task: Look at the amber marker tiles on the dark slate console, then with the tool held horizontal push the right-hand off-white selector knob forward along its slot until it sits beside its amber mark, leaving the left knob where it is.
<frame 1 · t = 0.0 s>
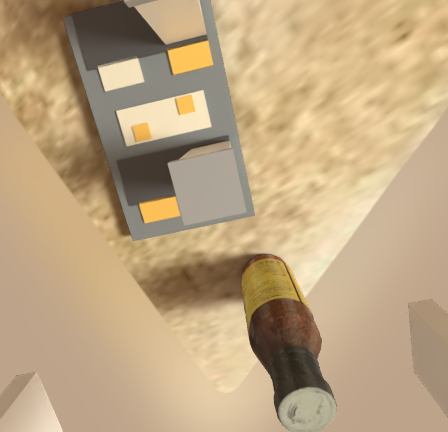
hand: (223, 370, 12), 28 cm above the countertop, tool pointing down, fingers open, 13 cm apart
slider a: (212, 173, 29), point 9 cm above the countertop, slide at 0.0 cm
sauce bottle: (267, 275, 42), on the countertop
console: (169, 123, 37), on the countertop
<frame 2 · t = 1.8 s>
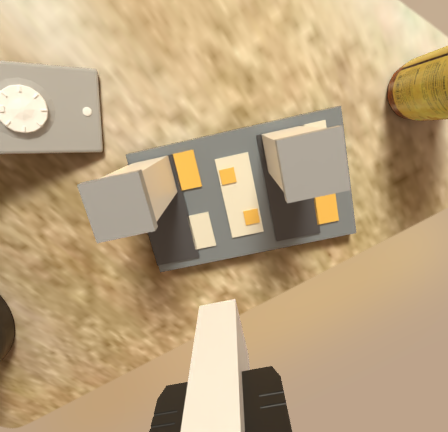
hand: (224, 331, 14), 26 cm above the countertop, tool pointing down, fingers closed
slider a: (295, 155, 29), point 9 cm above the countertop, slide at 0.0 cm
gray dial box: (43, 110, 37), on the countertop
sauce bottle: (413, 88, 36), on the countertop
console: (243, 191, 39), on the countertop
slider b: (139, 189, 30), point 9 cm above the countertop, slide at 0.0 cm
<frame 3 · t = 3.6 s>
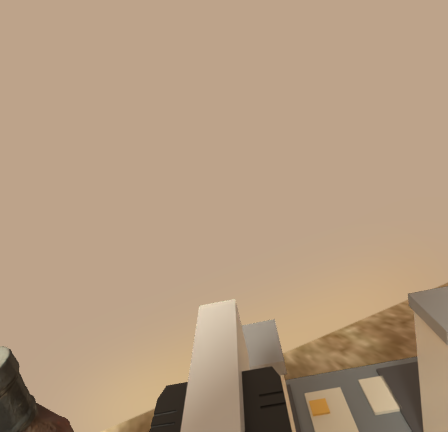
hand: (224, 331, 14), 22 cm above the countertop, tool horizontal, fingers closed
slider a: (264, 419, 25), point 9 cm above the countertop, slide at 0.0 cm
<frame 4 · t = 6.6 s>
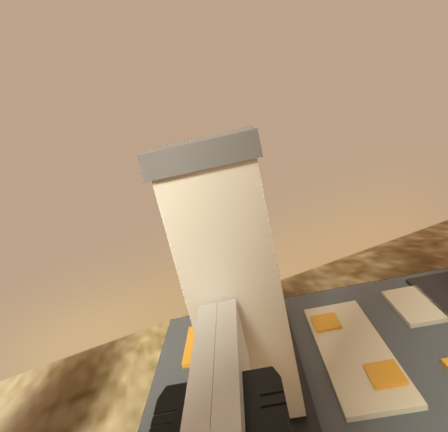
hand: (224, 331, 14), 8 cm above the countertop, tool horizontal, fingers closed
slider a: (233, 277, 16), point 9 cm above the countertop, slide at 1.7 cm, touching gripper
console: (347, 380, 20), on the countertop
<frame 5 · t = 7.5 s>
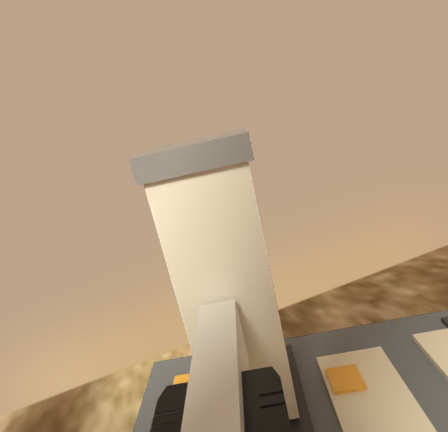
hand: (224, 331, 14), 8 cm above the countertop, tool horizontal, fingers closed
slider a: (227, 280, 16), point 9 cm above the countertop, slide at 6.6 cm, touching gripper
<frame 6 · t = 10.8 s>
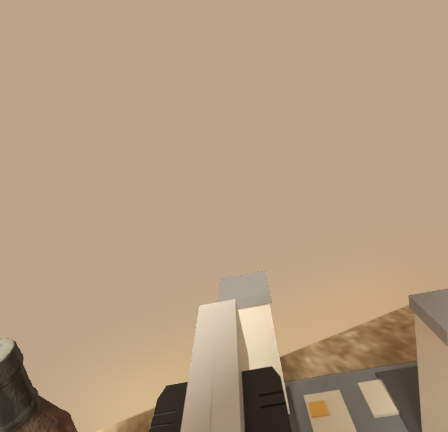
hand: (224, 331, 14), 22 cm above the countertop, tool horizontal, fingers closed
slider a: (255, 345, 33), point 9 cm above the countertop, slide at 8.4 cm
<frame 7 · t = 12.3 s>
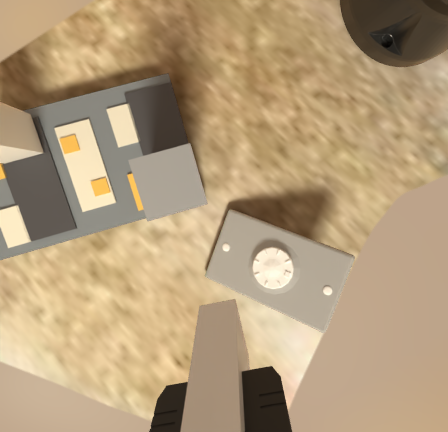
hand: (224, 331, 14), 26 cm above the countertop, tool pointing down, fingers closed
gray dial box: (266, 258, 41), on the countertop
console: (87, 168, 38), on the countertop
slider b: (172, 181, 30), point 9 cm above the countertop, slide at 0.0 cm
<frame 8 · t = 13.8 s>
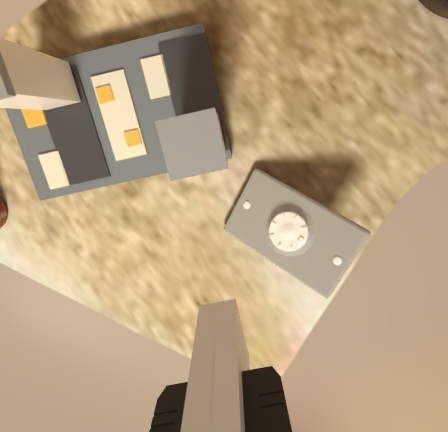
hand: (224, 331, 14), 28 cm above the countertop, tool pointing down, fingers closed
slider a: (21, 79, 30), point 9 cm above the countertop, slide at 8.4 cm
gray dial box: (285, 220, 43), on the countertop
console: (121, 117, 39), on the countertop
slider b: (199, 140, 31), point 9 cm above the countertop, slide at 0.0 cm
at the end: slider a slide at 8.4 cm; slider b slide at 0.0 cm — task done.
